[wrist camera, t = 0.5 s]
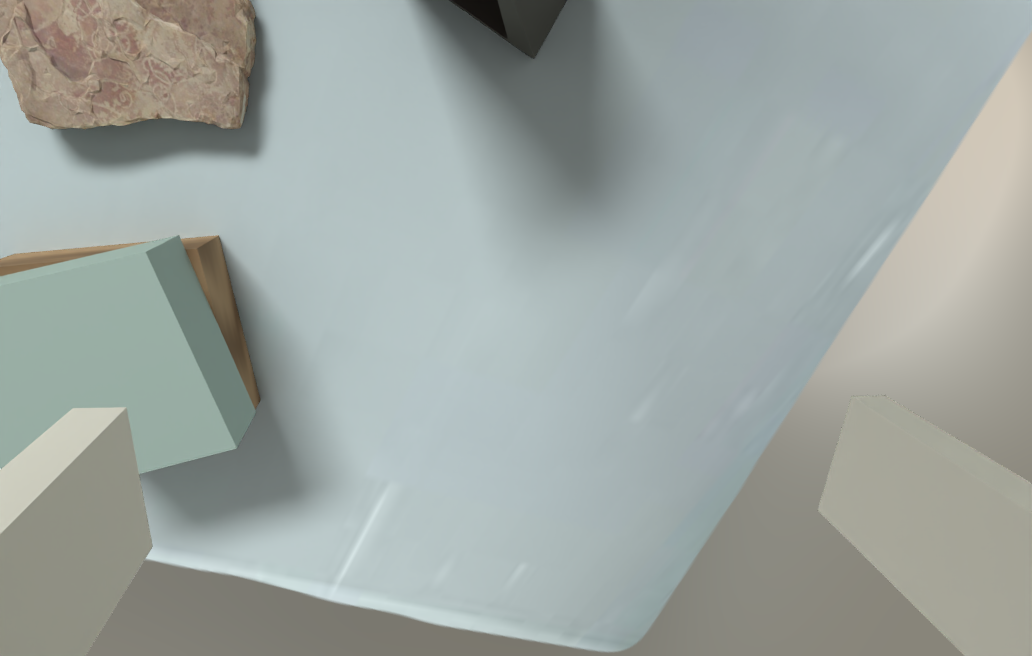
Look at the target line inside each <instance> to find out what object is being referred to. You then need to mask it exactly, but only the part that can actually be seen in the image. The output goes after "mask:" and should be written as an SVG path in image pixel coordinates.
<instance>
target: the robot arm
mask: <svg viewBox="0 0 1032 656" xmlns="http://www.w3.org/2000/svg"><path fill="white" fill-rule="evenodd" d="M818 511H819V512H820V513H821V514H822V515H823V516H824V517H825V518H826V519H827V520H828V521H829V522H830V523H831V524H832V525H833V526H834V527H835V528H836V529H837V530H838V531H839V532H840V533H841V534H842V535H843V536H844V537H845V538H846V539H847V540H848V541H849V542H850V543H851V544H852V545H853V546H854V547H855V548H856V549H858V551H859V552H860V553H861V554H862V555H863V556H864V557H865V558H866V559H867V560H868V561H869V562H870V563H871V564H872V565H873V566H874V567H876V569H878V571H879V572H881V574H883V576H885V577H886V578H887V579H888V580H889V581H890V582H891V583H892V584H893V585H894V586H895V587H896V588H897V589H898V590H899V591H900V592H901V593H902V594H903V595H904V596H905V597H906V598H907V599H908V600H909V601H910V602H911V603H912V604H913V605H914V606H915V607H916V608H917V609H918V610H919V611H920V612H921V613H922V614H923V615H924V616H925V617H926V618H927V619H928V620H929V621H930V622H931V623H932V624H933V625H934V626H935V627H936V628H937V629H938V630H939V631H940V632H941V633H942V634H943V635H944V636H945V637H946V638H947V639H948V640H949V641H950V642H951V643H952V644H953V645H954V646H955V647H956V648H957V649H958V650H959V651H960V652H961V653H962V654H963V655H964V656H1032V483H1030V482H1029V481H1027V480H1025V479H1024V478H1022V477H1020V476H1018V475H1017V474H1015V473H1014V472H1012V471H1010V470H1009V469H1007V468H1005V467H1004V466H1002V465H1000V464H999V463H997V462H995V461H993V460H992V459H990V458H988V457H987V456H985V455H984V454H982V453H980V452H979V451H977V450H975V449H973V448H972V447H970V446H968V445H967V444H965V443H964V442H962V441H960V440H959V439H957V438H955V437H954V436H952V435H950V434H948V433H947V432H945V431H943V430H942V429H940V428H938V427H937V426H935V425H934V424H932V423H930V422H928V421H927V420H925V419H924V418H922V417H920V416H919V415H917V414H915V413H914V412H912V411H910V410H909V409H907V408H905V407H903V406H902V405H900V404H898V403H897V402H895V401H894V400H892V399H890V398H889V397H887V396H885V395H881V396H851V400H850V403H849V406H848V410H847V414H846V416H845V420H844V423H843V427H842V430H841V433H840V437H839V440H838V443H837V447H836V450H835V453H834V457H833V460H832V464H831V467H830V470H829V474H828V477H827V480H826V484H825V487H824V491H823V494H822V497H821V501H820V504H819V507H818ZM152 547H153V546H152V540H151V535H150V530H149V524H148V519H147V514H146V508H145V503H144V498H143V492H142V487H141V482H140V476H139V471H138V466H137V460H136V455H135V450H134V444H133V439H132V434H131V428H130V423H129V418H128V412H127V407H114V408H72V409H71V410H70V411H69V412H68V413H67V414H65V415H64V416H63V417H62V418H61V419H60V420H58V421H57V422H56V423H55V424H54V425H52V426H51V427H50V428H49V429H48V430H47V431H45V432H44V433H43V434H42V435H41V436H40V437H38V438H37V439H36V440H35V441H34V442H32V443H31V444H30V445H29V446H28V447H27V448H25V449H24V450H23V451H22V452H21V453H20V454H18V455H17V456H16V457H15V458H14V459H12V460H11V461H10V462H9V463H8V464H7V465H5V466H4V467H3V468H2V469H1V470H0V656H86V654H87V653H88V651H89V649H90V648H91V646H92V645H93V643H94V641H95V640H96V638H97V636H98V634H99V633H100V632H101V630H102V628H103V627H104V625H105V623H106V622H107V620H108V618H109V617H110V615H111V614H112V612H113V610H114V609H115V607H116V605H117V604H118V602H119V600H120V599H121V597H122V596H123V594H124V592H125V591H126V589H127V587H128V586H129V584H130V583H131V581H132V579H133V578H134V576H135V575H136V573H137V571H138V570H139V568H140V566H141V565H142V563H143V562H144V560H145V558H146V557H147V555H148V553H149V552H150V550H151V549H152Z"/></svg>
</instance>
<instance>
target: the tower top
mask: <svg viewBox="0 0 1032 656" xmlns="http://www.w3.org/2000/svg"><path fill="white" fill-rule="evenodd" d="M114 407H127V412H128V418H129V423H130V428H131V434H132V439H133V444H134V450H135V455H136V460H137V466H138V471H139V474H141V473H145V472H149V471H153V470H157V469H160V468H164V467H168V466H172V465H176V464H180V463H183V462H187V461H191V460H195V459H199V458H203V457H206V456H210V455H214V454H218V453H222V452H226V451H229V450H233V449H237V447H238V446H239V444H240V442H241V440H242V438H243V436H244V434H245V433H246V431H247V429H248V427H249V425H250V423H251V421H252V420H253V418H254V416H255V414H256V410H255V408H254V406H253V404H252V401H251V399H250V397H249V394H248V392H247V390H246V388H245V385H244V383H243V381H242V378H241V376H240V374H239V372H238V369H237V367H236V365H235V362H234V360H233V358H232V356H231V353H230V351H229V349H228V346H227V344H226V342H225V340H224V337H223V335H222V333H221V330H220V328H219V326H218V324H217V321H216V319H215V317H214V314H213V312H212V310H211V308H210V305H209V303H208V301H207V298H206V296H205V294H204V292H203V289H202V287H201V285H200V282H199V280H198V278H197V276H196V273H195V271H194V269H193V266H192V264H191V262H190V260H189V257H188V255H187V253H186V250H185V248H184V246H183V243H182V241H181V239H180V237H179V235H178V236H173V237H169V238H165V239H160V240H156V241H152V242H147V243H143V244H139V245H134V246H130V247H126V248H121V249H117V250H113V251H108V252H104V253H99V254H95V255H91V256H86V257H82V258H78V259H73V260H69V261H65V262H60V263H56V264H52V265H47V266H43V267H39V268H34V269H30V270H26V271H21V272H17V273H13V274H8V275H4V276H0V468H1V469H2V468H3V467H4V466H5V465H7V464H8V463H9V462H10V461H11V460H12V459H14V458H15V457H16V456H17V455H18V454H20V453H21V452H22V451H23V450H24V449H25V448H27V447H28V446H29V445H30V444H31V443H32V442H34V441H35V440H36V439H37V438H38V437H40V436H41V435H42V434H43V433H44V432H45V431H47V430H48V429H49V428H50V427H51V426H52V425H54V424H55V423H56V422H57V421H58V420H60V419H61V418H62V417H63V416H64V415H65V414H67V413H68V412H69V411H70V410H71V409H72V408H114Z"/></svg>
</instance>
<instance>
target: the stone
mask: <svg viewBox="0 0 1032 656" xmlns="http://www.w3.org/2000/svg"><path fill="white" fill-rule="evenodd" d="M254 18H255V10H254V8H253V6H252V4H251V2H250V1H249V0H0V57H1V60H2V62H3V64H4V66H5V67H6V68H7V69H8V74H9V77H10V79H11V81H12V83H13V88H14V90H15V92H16V93H17V97H18V100H19V104H20V107H21V110H22V111H23V112H24V113H25V115H26V118H27V119H28V121H29V122H30V123H34V124H38V125H42V126H46V127H48V128H51V129H67V128H81V129H87V128H94V127H97V126H108V125H116V126H125V125H128V124H132V123H136V122H140V121H145V120H148V119H159V118H174V119H178V120H183V121H193V122H205V123H207V124H214V125H216V126H218V127H221V128H224V129H238V128H240V127H241V125H242V123H243V120H244V115H245V112H246V107H247V105H248V97H249V82H248V80H247V78H248V76H250V73H251V68H252V67H253V65H254V60H255V45H256V34H255V27H254Z"/></svg>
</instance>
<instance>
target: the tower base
mask: <svg viewBox="0 0 1032 656" xmlns="http://www.w3.org/2000/svg"><path fill="white" fill-rule="evenodd" d="M181 241H182V243H183V246H184V248H185V250H186V253H187V255H188V257H189V260H190V262H191V264H192V266H193V269H194V271H195V273H196V276H197V278H198V280H199V282H200V285H201V287H202V289H203V292H204V294H205V296H206V298H207V301H208V303H209V305H210V308H211V310H212V312H213V314H214V317H215V319H216V321H217V324H218V326H219V328H220V330H221V333H222V335H223V337H224V340H225V342H226V344H227V346H228V349H229V351H230V353H231V356H232V358H233V360H234V362H235V365H236V367H237V369H238V372H239V374H240V376H241V378H242V381H243V383H244V385H245V388H246V390H247V392H248V394H249V397H250V399H251V401H252V404H253V406H254V408H255V409H256V407H257V405H258V404H259V402H260V396H259V392H258V388H257V385H256V381H255V377H254V373H253V369H252V365H251V361H250V357H249V353H248V349H247V345H246V341H245V337H244V333H243V329H242V325H241V321H240V317H239V314H238V310H237V306H236V302H235V298H234V294H233V290H232V286H231V282H230V278H229V274H228V270H227V266H226V262H225V258H224V254H223V250H222V247H221V243H220V239H219V235H218V236H207V237H196V238H185V239H181ZM143 243H147V242H141V243H130V244H119V245H108V246H97V247H86V248H75V249H64V250H53V251H42V252H31V253H20V254H13V255H10V256H7V257H4V258H2V259H0V276H4V275H8V274H13V273H17V272H21V271H26V270H30V269H34V268H39V267H43V266H47V265H52V264H56V263H60V262H65V261H69V260H73V259H78V258H82V257H86V256H91V255H95V254H99V253H104V252H108V251H113V250H117V249H121V248H126V247H130V246H134V245H139V244H143Z"/></svg>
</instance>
